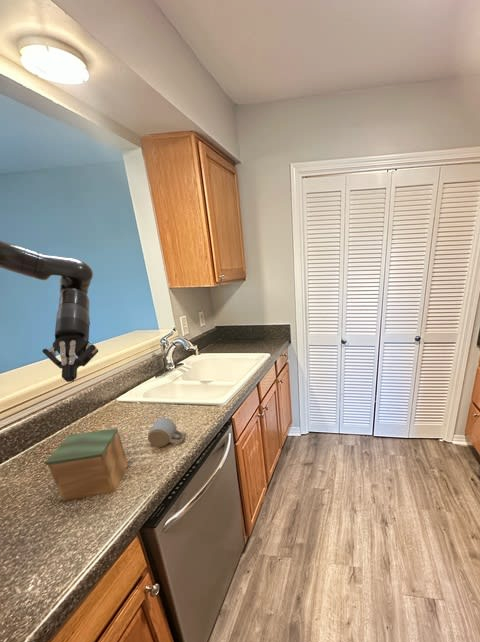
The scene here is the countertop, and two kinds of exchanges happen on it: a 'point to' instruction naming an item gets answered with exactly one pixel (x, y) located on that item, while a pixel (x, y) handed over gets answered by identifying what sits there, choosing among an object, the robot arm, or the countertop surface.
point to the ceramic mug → (163, 433)
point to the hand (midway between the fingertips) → (69, 380)
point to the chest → (91, 473)
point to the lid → (82, 446)
